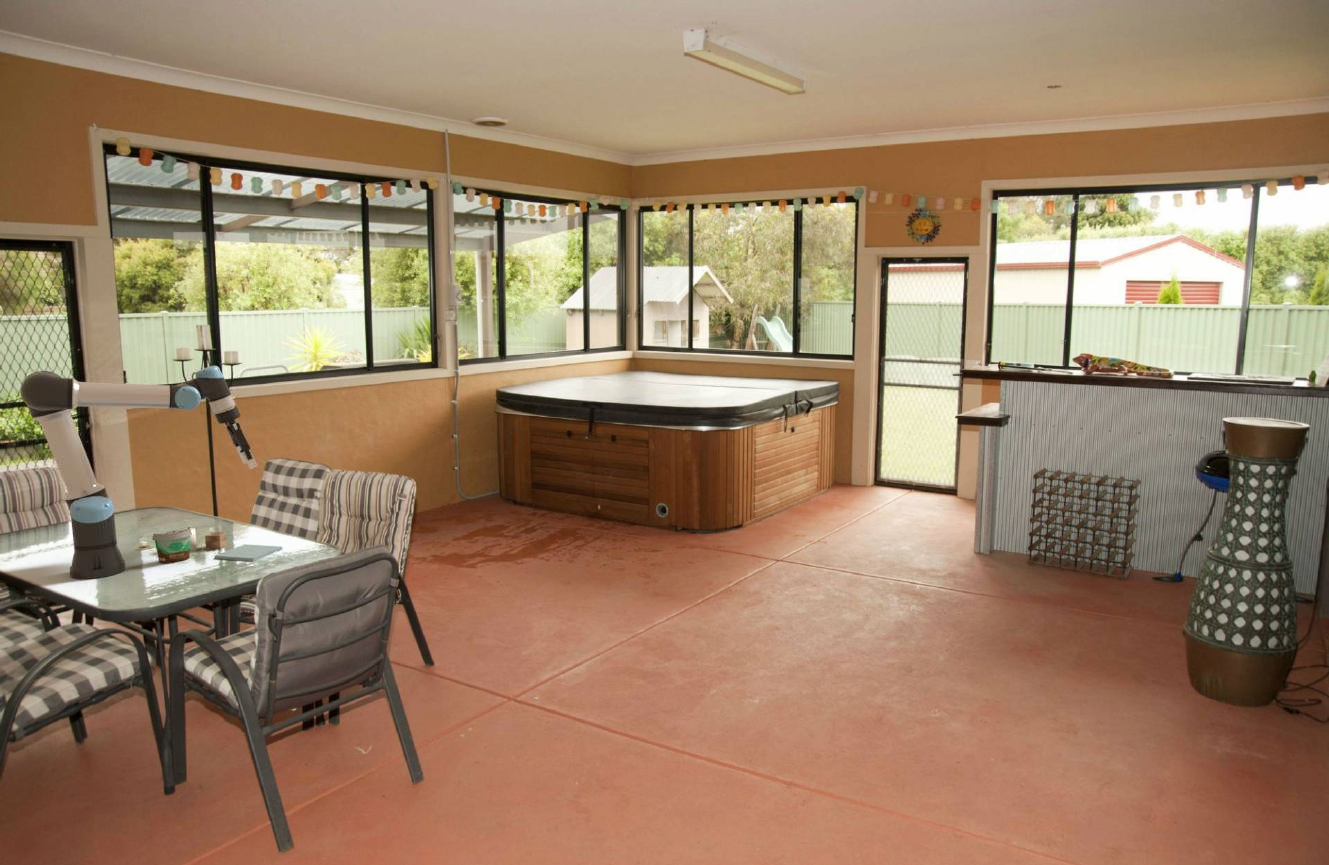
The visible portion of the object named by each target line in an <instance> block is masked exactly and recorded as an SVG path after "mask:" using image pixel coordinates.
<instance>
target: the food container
mask: <svg viewBox="0 0 1329 865" xmlns="http://www.w3.org/2000/svg"><path fill="white" fill-rule="evenodd" d="M187 528H188V529H187V530H182V531H179V530H173V531H169V532H166V533H153V535H152V541H154V543H155V549H156V553H157V554H156V555H157V559H158V563H161V564H173V563H174V564H175V563H180V562H184V561H187V560H189V559H190V554H191V553H190V552H191V551H190V536H191V535H192V531H191V529H190V528H191V527H190V526H187Z"/></svg>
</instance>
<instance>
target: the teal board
mask: <svg viewBox="0 0 1329 865" xmlns="http://www.w3.org/2000/svg"><path fill="white" fill-rule="evenodd" d="M281 549H282V550H283V546H281V545H278V546H277V545H275V546H274V545H264V544H263V545H261V544H246V543H245V544H241V545H239V546H237V547H235V548H231V549H229V550H226V551H223V552H220V553H219V554H218V553H217V554H216V555H214V559H215V560H229V561H242V562H244V561H246V562H256V561H258V560H261V559H263V558H264V557H267V556H270V555H272V554H274V552H275V553H277V552H279V551H282V550H281ZM276 551H277V552H276Z"/></svg>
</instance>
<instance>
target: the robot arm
mask: <svg viewBox="0 0 1329 865" xmlns="http://www.w3.org/2000/svg"><path fill="white" fill-rule="evenodd" d="M195 374H196V377H195V378H193V379H190V380H187V381H184V382H181V383H178V384H176V385H168V384H167V385H163V384H141V383H139V384H137V383H117V382H116V383H114V382H113V383H112V382H89V381H88V382H87V381H78V380H76V378H71V377H70V378H69V377H62V376H60V375H59V374H58V373H57V372H53V371H50V370H41V371H40V370H39V371H35V372H32V373H30V374H29V375H27V376H26V377H25V378H24V379H23V382H22V384H21V386H20V391H19V392H20V396H21V399H22V401H23V403H25V404H26V405H27V406H26V407H27V408H28V410H29V414H30V415H31V418H32V419H33V420H35V421H37V422H39V424H40V426H41V428H42V430H43V433H44V435H45V438H46V441H47V444H48V446H49V448H50V451H51V453H52V455H53V458H54V461H55V463H56V466H57V468H58V471H59V473H60V476H61V478H62V481H63V483H64V486H65V489H66V491H67V493H66V494H65V497H64V501H65V503H66V506H67V508H68V510H69V516H70V520H71V521H70V522H71V531H72V539H73V540H72V541H73V542H72V543H73V550H74V551H73V557H72V560H71V561H72V562H71V566H70V568H69V576H70V578H73V579H79V580H80V579H81V580H85V579H86V580H87V579H89V580H90V579H98V578H103V577H104V578H105V577H109V576H110V577H111V576H113V575H117V574H120V573H123V572H124V571H125V570H126V561H125V559H124V558H123V556H122V553H121V551H120V549H119V547H118V541H117V529H116V518H115V517H116V516H115V505H114V502H113V501H112V499H111V498H110V497H109V495H108V492H107V490H106V487H105V486H104V485H103V484H100V483H98V481H97V479H96V477H95V476H96V475H95V473H94V471H93V469H92V467H91V466H92V465H91V463H90V460H89V458H88V456H87V452H86V450H85V448H84V445H83V443H82V440H81V438H80V435H79V433H78V430H77V426H76V425H75V422H74V420H73V417H72V411H73V410H75V409H76V408H77V407H95V408H97V407H98V408H100V407H101V408H103V407H104V408H135V409H136V408H138V409H139V408H140V409H141V408H143V409H145V408H146V409H170V411H171V410H172V411H174V410H183V411H191V410H194V409H196V408H197V407H198V406H199V405H200V403H201V401H202V400H205V399H206V400H207V401H208V403H209V405H210V408H211V410H212V412H213V413H215V414H214V416H215V418H216V420H217V422H218V424H219V425H222V424H225V425H226V426H225V427H226V430H227V432H228V433H229V435H230V437H231V441H232V444H233V445H234V446H235V449H236V451H237V453H238V455H239V457H240V459H241V462H242V464H243V465H244V464H247V465H248V469H249V470H252V469H254V468H256V467H259V466H258V463H257V461H256V459H255V457H254V455H253V453H252V450H251V446H250V444H249V443H248V440H247V439H246V437H245V435H244V433H243V432H244V431H243V430H242V429H241V428H242V427H241V425H240V423H239V422H237V421H236V419H239V418H240V417H241V413H240V410H239V408H238V407H237V406H236V402H235V400H234V399H235V396H233V395H232V393H231V391H230V388H229V386H228V383H227V381H226V379H225V377H224V375H223V373H222V371H221V369H220V367H219V366H217V365H211V366H208V367H204V368H202V369H199V370H197V371H196V372H195Z"/></svg>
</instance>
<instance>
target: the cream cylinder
mask: <svg viewBox="0 0 1329 865" xmlns="http://www.w3.org/2000/svg"><path fill="white" fill-rule="evenodd" d="M187 529H188V527H186V528H181V529H179V530H178V531H182V530H187ZM190 529H191V531H192V535H191V536H190V552H191V551H195V549H196V550H197V549H198V545H197V535H196V528H195V527H190Z"/></svg>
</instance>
